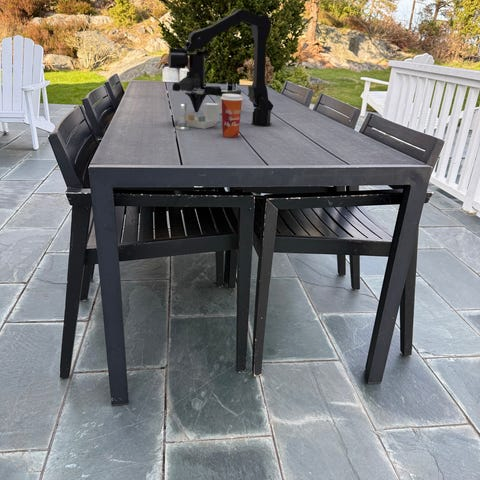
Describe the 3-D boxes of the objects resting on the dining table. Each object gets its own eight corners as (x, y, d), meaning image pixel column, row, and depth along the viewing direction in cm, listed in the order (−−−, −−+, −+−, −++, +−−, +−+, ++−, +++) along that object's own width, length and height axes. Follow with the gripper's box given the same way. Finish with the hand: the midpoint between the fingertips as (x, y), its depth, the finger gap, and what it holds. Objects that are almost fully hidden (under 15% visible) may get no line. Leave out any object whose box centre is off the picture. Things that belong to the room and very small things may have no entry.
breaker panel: (214, 125, 172) (215, 116, 170) (204, 128, 165) (204, 119, 164) (189, 121, 177) (189, 112, 175) (177, 124, 170) (177, 115, 169)
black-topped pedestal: (236, 121, 186) (237, 88, 180) (186, 113, 197) (186, 82, 191) (266, 113, 208) (268, 84, 202) (219, 107, 219) (220, 79, 214)
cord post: (191, 128, 164) (191, 103, 160) (184, 130, 160) (184, 105, 156) (180, 127, 166) (180, 102, 162) (173, 128, 162) (172, 103, 158)
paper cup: (225, 138, 151) (226, 96, 145) (216, 134, 157) (217, 93, 151) (245, 137, 155) (247, 96, 149) (235, 133, 161) (237, 93, 155)
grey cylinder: (217, 123, 177) (218, 105, 174) (201, 122, 178) (201, 104, 175) (221, 120, 183) (222, 103, 180) (205, 119, 184) (206, 102, 181)
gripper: (163, 67, 159) (164, 111, 166) (206, 71, 152) (206, 117, 158) (180, 66, 169) (181, 108, 175) (222, 70, 161) (221, 114, 168)
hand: (196, 112), depth 169 cm, fingers closed
